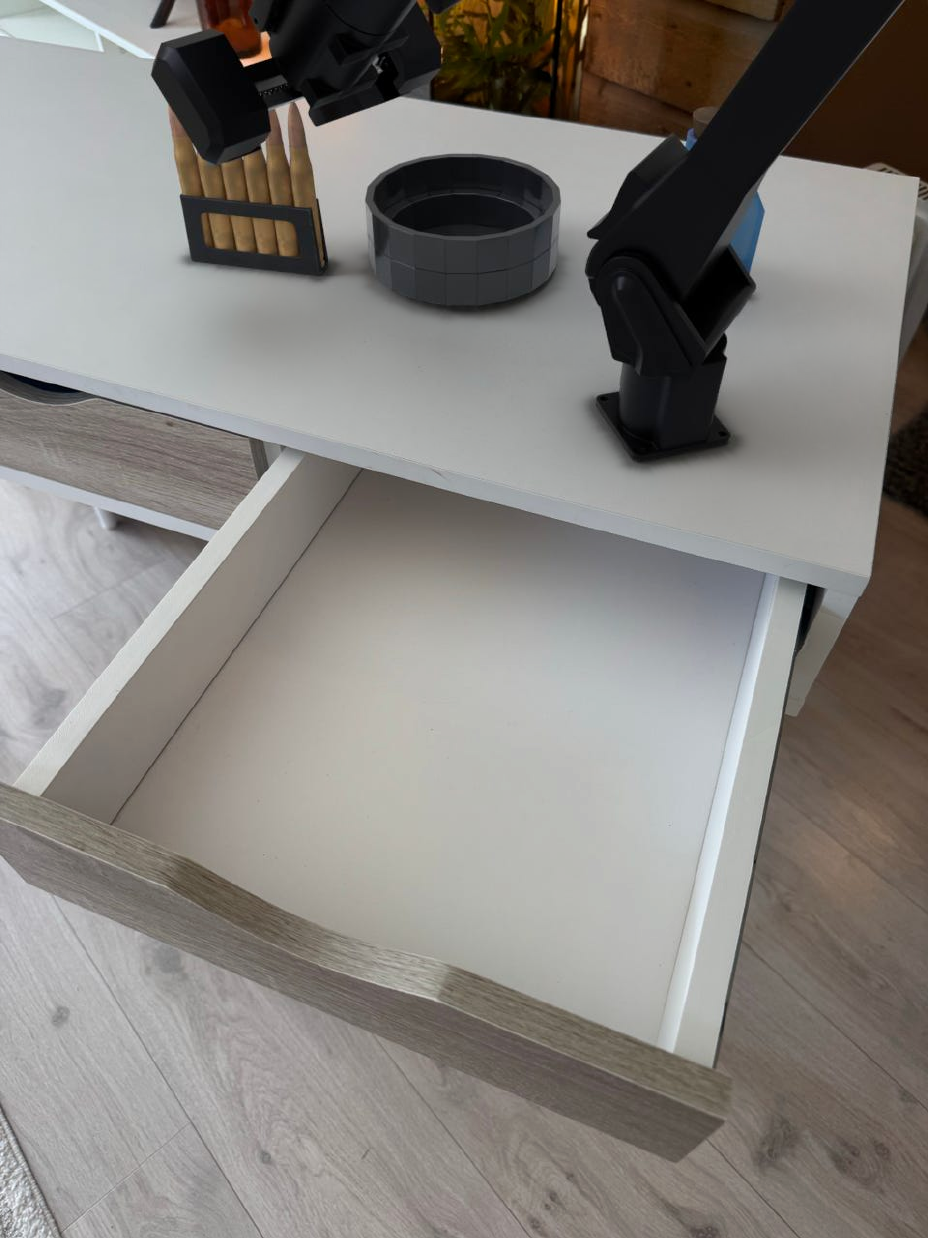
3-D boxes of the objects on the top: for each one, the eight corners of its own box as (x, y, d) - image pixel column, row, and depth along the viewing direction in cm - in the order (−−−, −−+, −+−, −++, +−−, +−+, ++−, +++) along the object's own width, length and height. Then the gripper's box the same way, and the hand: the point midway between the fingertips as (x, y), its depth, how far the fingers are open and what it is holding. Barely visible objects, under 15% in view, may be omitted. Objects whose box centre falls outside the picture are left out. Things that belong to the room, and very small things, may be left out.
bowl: (582, 296, 69) (590, 223, 65) (396, 326, 66) (392, 252, 62) (519, 212, 78) (522, 143, 74) (353, 235, 75) (347, 165, 71)
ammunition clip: (329, 264, 72) (310, 96, 63) (321, 275, 71) (301, 106, 62) (200, 249, 74) (164, 83, 65) (190, 260, 73) (152, 93, 64)
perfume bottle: (680, 317, 67) (714, 142, 58) (626, 280, 70) (650, 109, 61) (744, 294, 69) (786, 121, 60) (689, 259, 73) (720, 91, 64)
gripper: (403, -190, 53) (301, -6, 67) (123, -141, 44) (70, 60, 58) (501, -1, 56) (384, 140, 69) (255, 83, 47) (174, 226, 60)
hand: (262, 138), depth 64 cm, fingers open, 9 cm apart
